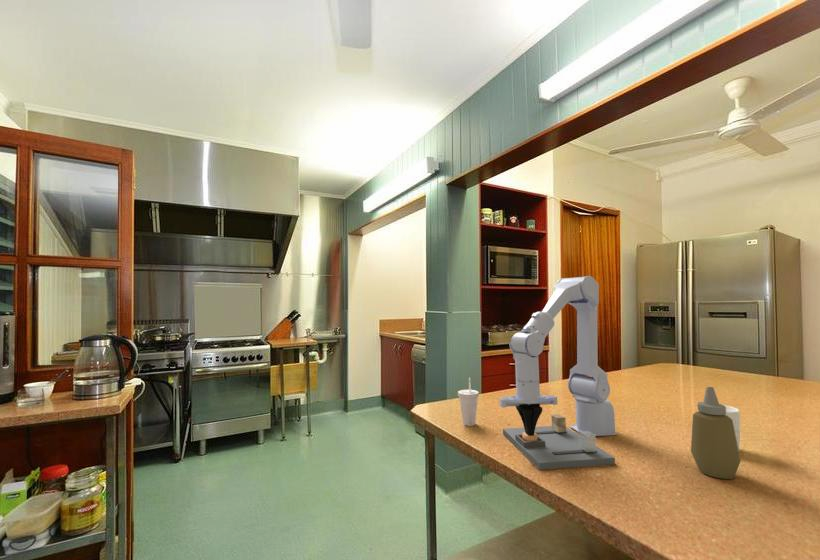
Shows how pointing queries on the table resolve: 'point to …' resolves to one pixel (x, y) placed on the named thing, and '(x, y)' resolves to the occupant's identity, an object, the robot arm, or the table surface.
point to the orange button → (529, 437)
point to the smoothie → (468, 405)
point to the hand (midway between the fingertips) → (529, 434)
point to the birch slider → (558, 423)
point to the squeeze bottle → (714, 439)
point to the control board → (556, 449)
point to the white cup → (734, 421)
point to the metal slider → (587, 441)
